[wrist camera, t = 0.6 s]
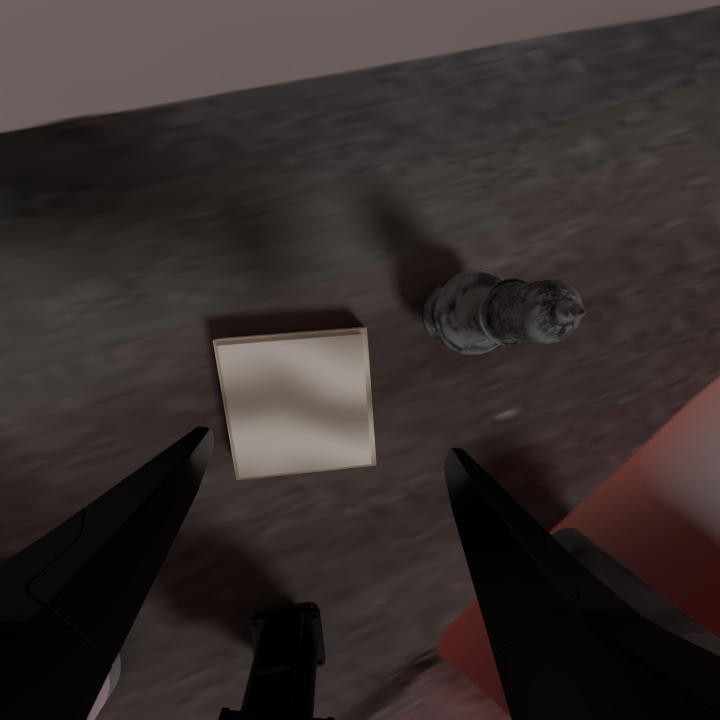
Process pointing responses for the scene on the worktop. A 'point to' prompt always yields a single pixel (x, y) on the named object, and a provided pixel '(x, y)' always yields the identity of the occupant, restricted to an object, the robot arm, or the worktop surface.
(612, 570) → the beverage cup
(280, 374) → the wooden tray
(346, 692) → the worktop surface
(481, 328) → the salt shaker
